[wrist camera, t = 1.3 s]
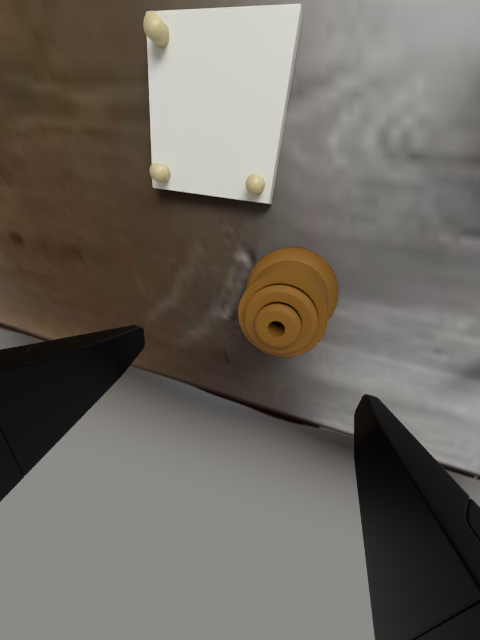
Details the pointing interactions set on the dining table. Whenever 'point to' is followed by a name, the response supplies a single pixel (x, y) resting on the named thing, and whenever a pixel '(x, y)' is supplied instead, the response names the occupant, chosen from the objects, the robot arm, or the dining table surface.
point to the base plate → (220, 97)
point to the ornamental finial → (288, 301)
